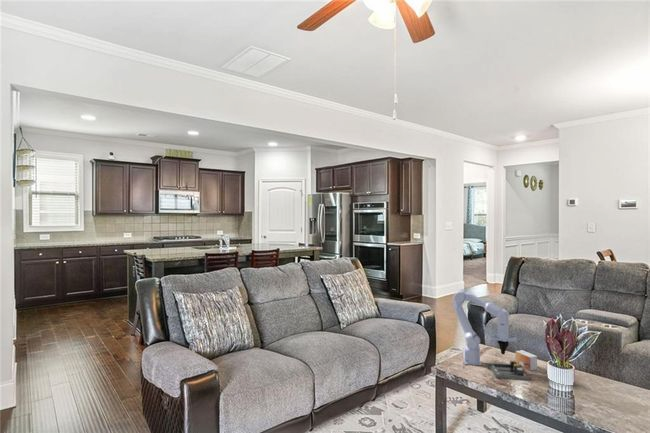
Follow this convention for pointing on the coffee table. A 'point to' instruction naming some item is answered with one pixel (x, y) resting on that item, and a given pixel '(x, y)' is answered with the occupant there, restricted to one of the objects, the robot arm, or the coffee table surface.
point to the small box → (526, 360)
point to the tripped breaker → (515, 367)
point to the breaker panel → (508, 371)
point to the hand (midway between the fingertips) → (502, 353)
